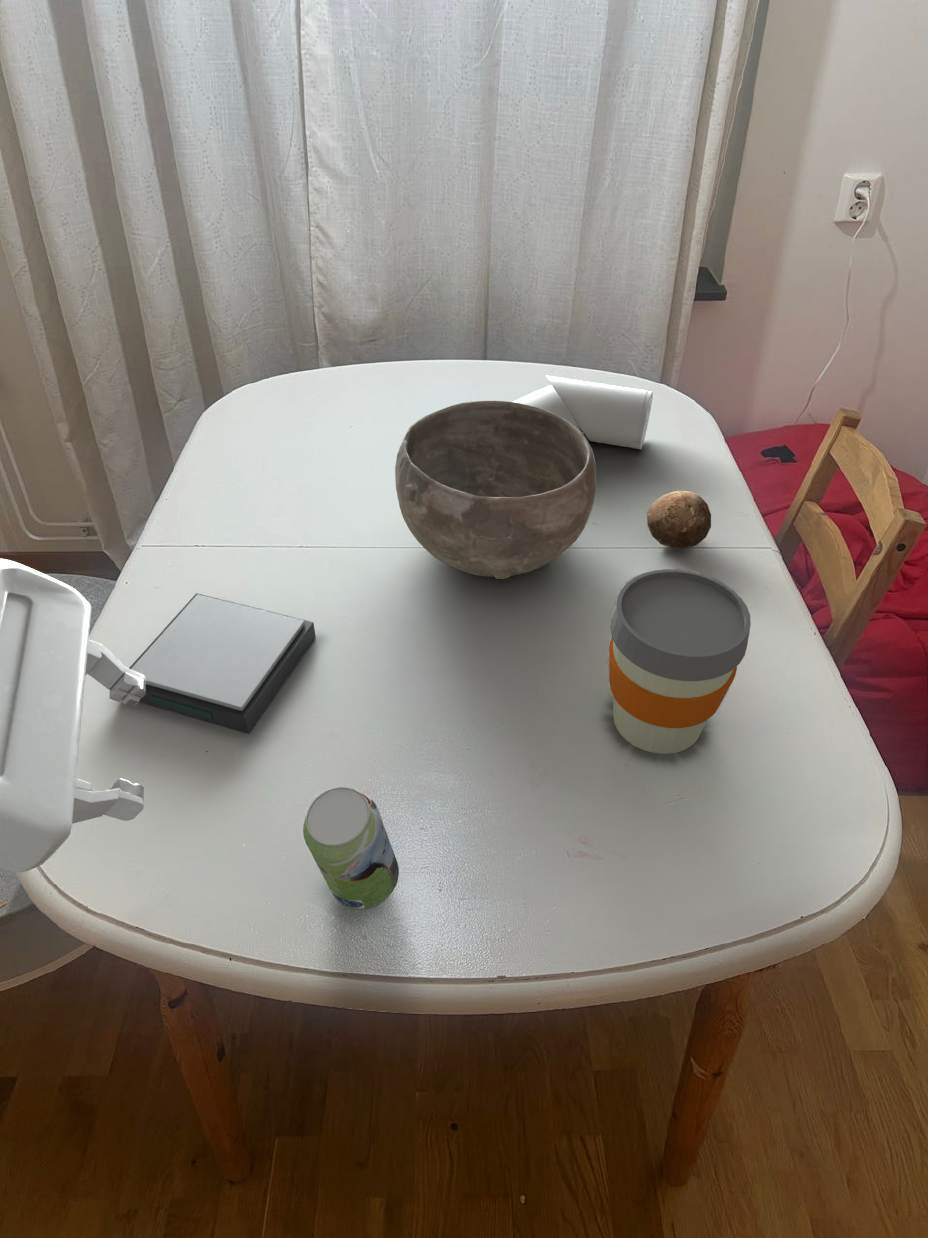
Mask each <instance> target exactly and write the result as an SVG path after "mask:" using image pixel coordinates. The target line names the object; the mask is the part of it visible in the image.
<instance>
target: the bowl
mask: <svg viewBox="0 0 928 1238" xmlns="http://www.w3.org/2000/svg"><path fill="white" fill-rule="evenodd" d="M395 459H396V461H395V466H394V474H395V475H394V479H395V480H394V481H395V490H396V495H397V501H398V505H399V510H400V513H401V515H402V518H403V520H404V522H405V525H406V526H407V528H408V530H409V532H410V533H411V534H412V536H413V537H414V538H415V540H416V541H417V542H418V543H419V544H420V545H421V546H422V547H423V549H425V550H426V552H428V553H429V554H430V555H431V556H433V557H434V558H435V559H437V560H438V561H440V562H442V563H443V564H445V565H446V566H449V567H450V568H452V569H456V570H459V571H461V572H464V573H467V574H470V575H473V576H479V577H491V578H493V577H494V578H495V579H499V580H506V579H508V578H510V577H512V576H517V575H518V576H519V575H522V574H527V573H529V572H533V571H535V570H539V569H540V568H543V567H545V566H546V565H548V564H550V563H553V562H554V561H555V560H556V559H558V558H559V557H560V556H561V555H562V554H563V553H564V552H565V551H567V550H568V549H569V548H570V547H571V546H572V545H573V544H574V543H575V542H576V541H577V540H578V539H579V537H580V536H581V534H582V532H583V531H584V530H585V528H586V525H587V524H588V520H589V518H590V515H591V513H592V509H593V505H594V502H595V496H596V489H597V464H596V463H597V462H596V459H595V455H594V452H593V448H592V446H591V444H590V443H589V440H588V438H587V437H586V435H585V434H584V433H581V432H580V431H579V430H578V429H577V428H576V427H575V426H574V425H572V424H571V423H570V422H568V421H567V420H565V419H563V418H562V417H560V416H558V415H556V414H554V413H552V412H549V411H547V410H543V409H540V408H537V407H533V406H530V405H525V404H521V403H516V402H513V401H506V400H474V401H465V402H460V403H457V404H453V405H450V406H447V407H445V408H441V409H439V410H436V411H434V412H432V413H430V414H427V415H425V416H423V417H422V418H420V419H418V420H417V421H415V422H414V423H413V424H411V426H410V427H409V428H408V429H407V431H406V433H405V434H404V436H403V439H402V441H401V443H400V446H399V448H398V451H397V454H396V458H395Z"/></svg>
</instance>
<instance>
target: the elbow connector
mask: <svg viewBox="0 0 928 1238" xmlns="http://www.w3.org/2000/svg"><path fill="white" fill-rule="evenodd" d="M545 377H546V378H547V381H549V383H550V384H549V385H547V386H545V387H543V388H540V389H538V390H535V391H533V392H531V393H529V394H527V395H524V396H523V397H520V398H518V399H516V400H514V401H512V402H516V403H521V404H525V405H530V406H533V407H537V408H540V409H543V410H547V411H549V412H552V413H554V414H556V415H558V416H560V417H562V418H563V419H565V420H567V421H568V422H570V423H571V424H572V425H574V426H575V427H576V428H577V429H578V430H579V431H580V432H581V433H582V434H584V436H585V437H586V438H587V440H588V441H590V442H595V443H599V444H606V445H611V446H612V445H613V446H618V447H624V448H631V449H637V450H642V449H643V446H644V442H645V438H646V435H647V430H648V426H649V421H650V415H651V409H652V404H653V396H654V392H653V390H646V389H641V388H632V387H626V386H620V385H613V384H608V383H607V384H606V383H599V382H593V381H587V380H586V381H585V380H578V379H572V378H566V377H558V376H553V375H545Z"/></svg>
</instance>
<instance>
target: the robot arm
mask: <svg viewBox="0 0 928 1238" xmlns="http://www.w3.org/2000/svg"><path fill="white" fill-rule="evenodd" d="M91 618H92V605H91V603H90V602H89V601H88V600H87V599H86V597H84V596H83V595H82V594H81V592H80V591H79V590H78V589H76V588H74V587H73V586H71V585H69V584H67V583H65V582H63V581H61V580H59V579H57V578H55V577H52V576H50V575H48V574H45V573H44V572H41V571H39V570H36V569H34V568H33V567H32V568H31V567H29V566H27V565H25V564H22V563H19V562H17V561H14V560H11V559H6V558H0V869H1V870H5V871H8V872H13V873H26V872H28V871H31V870H33V869H35V868H38V867H40V866H42V865H44V864H45V863H46V862H47V861H48V860H49V859H51V858H52V856H53V855H54V854H55V853H56V852H57V851H58V850H59V849H60V848H61V847H62V845H64V843H65V842H66V841H67V840H68V839H69V837H70V835H71V832H72V827H73V824H77V823H80V822H85V821H89V820H92V819H96V818H100V817H103V816H107V817H109V818H114V819H117V820H120V821H124V822H125V821H132V820H134V819H135V818H136V817H137V816H138V815H139V814H140V813H141V812H142V811H143V810H144V807H145V806H144V805H145V787H144V786H143V785H142V784H141V783H137V782H136V783H133V782H131V781H130V780H128V779H124V778H122V777H119V778H118V779H117V780H116V781H115V782H114V783H113V785H112V787H111V788H108V789H104V790H103V789H102V790H96V791H92V790H93V783H91V782H89V781H86V780H82V779H79V778H77V773H78V762H79V749H80V741H81V740H80V739H81V728H82V717H83V716H82V715H83V705H84V694H85V686H86V685H85V683H86V676H87V675H88V676H90V678H92V679H94V680H95V681H97V683H99V684H101V686H103V687H104V688H106V689H107V690H109V697H108V699H110V700H112V701H116V702H117V703H120V702H122V703H123V704H124V705H126V706H129V707H130V706H131V707H132V706H137V704H139V703H140V702H139V701H140V699H141V698H143V697H144V695H145V690H146V677H145V676H144V675H143V674H141V673H138V672H136V671H133V670H131V669H129V667H126V666H125V664H123V662H121V661H120V660H119V658H117V657H116V656H115V655H114V654H113V653H112V652H111V651H110V650H109V649H108V648H107V647H106V646H105V645H104V644H102V643H99V642H97V641H94V640H92V639H90V630H91V629H90V628H91Z"/></svg>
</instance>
